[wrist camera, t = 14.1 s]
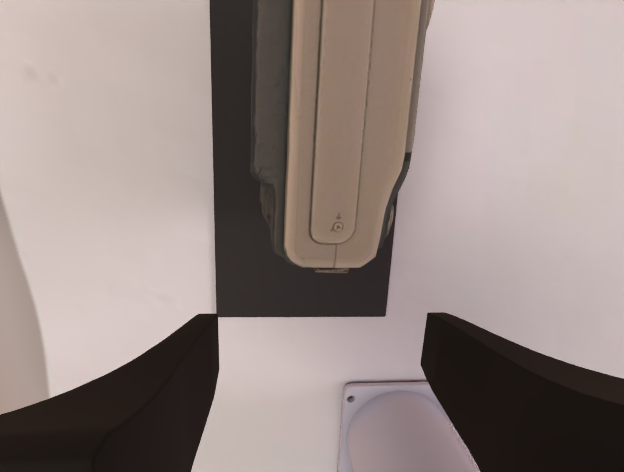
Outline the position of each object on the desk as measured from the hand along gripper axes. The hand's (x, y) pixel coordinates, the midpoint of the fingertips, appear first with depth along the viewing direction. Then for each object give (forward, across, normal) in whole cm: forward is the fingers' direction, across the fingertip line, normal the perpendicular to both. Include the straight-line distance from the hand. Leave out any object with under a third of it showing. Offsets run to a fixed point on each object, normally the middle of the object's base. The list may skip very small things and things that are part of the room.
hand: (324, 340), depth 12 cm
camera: (+10, 0, -8) cm, 13 cm away
